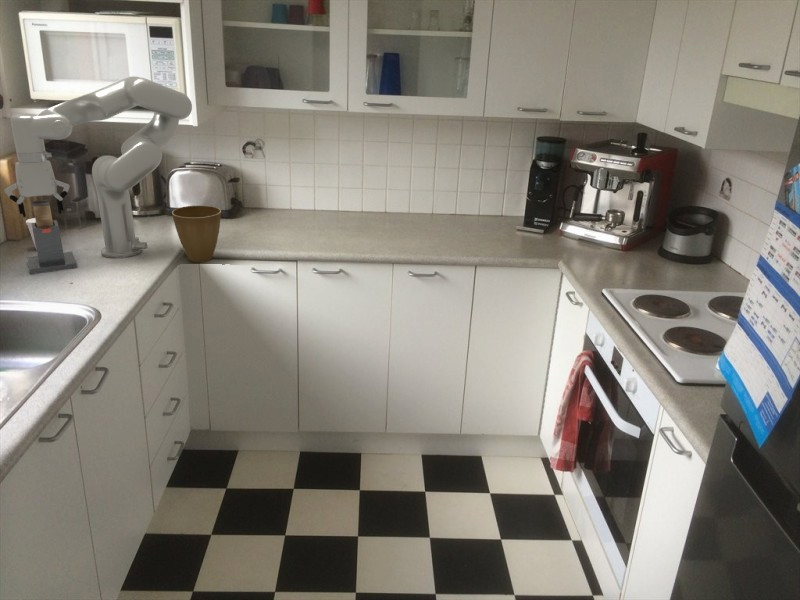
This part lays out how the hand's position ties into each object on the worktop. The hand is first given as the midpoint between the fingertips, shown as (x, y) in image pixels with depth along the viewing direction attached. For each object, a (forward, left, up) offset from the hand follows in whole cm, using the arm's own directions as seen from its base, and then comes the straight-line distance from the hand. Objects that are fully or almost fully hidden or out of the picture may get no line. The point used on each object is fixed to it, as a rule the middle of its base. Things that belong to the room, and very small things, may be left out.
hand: (42, 214), depth 199 cm
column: (0, 0, -15) cm, 15 cm away
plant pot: (-43, -13, -16) cm, 48 cm away
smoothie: (+13, -15, -16) cm, 26 cm away
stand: (0, 0, -16) cm, 16 cm away
